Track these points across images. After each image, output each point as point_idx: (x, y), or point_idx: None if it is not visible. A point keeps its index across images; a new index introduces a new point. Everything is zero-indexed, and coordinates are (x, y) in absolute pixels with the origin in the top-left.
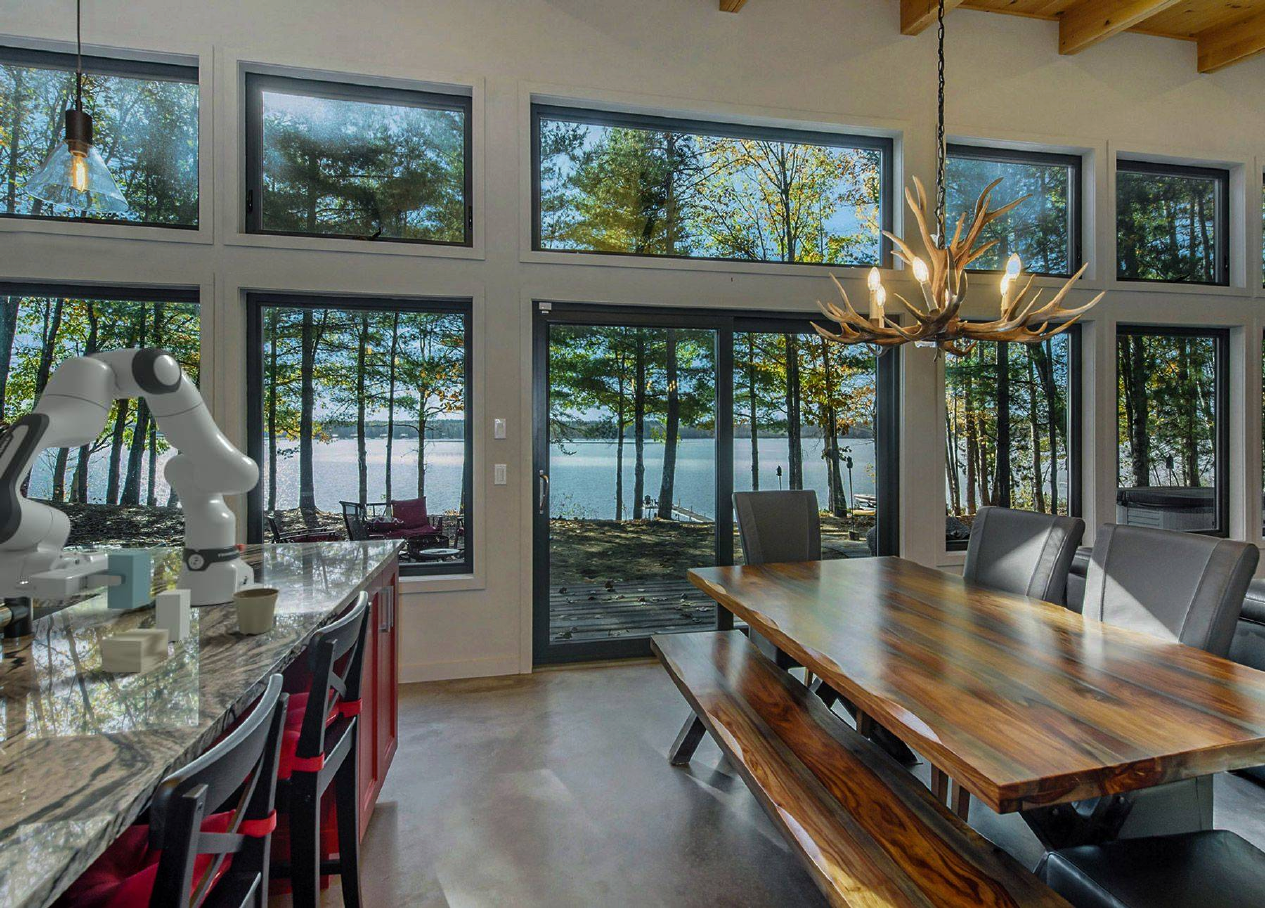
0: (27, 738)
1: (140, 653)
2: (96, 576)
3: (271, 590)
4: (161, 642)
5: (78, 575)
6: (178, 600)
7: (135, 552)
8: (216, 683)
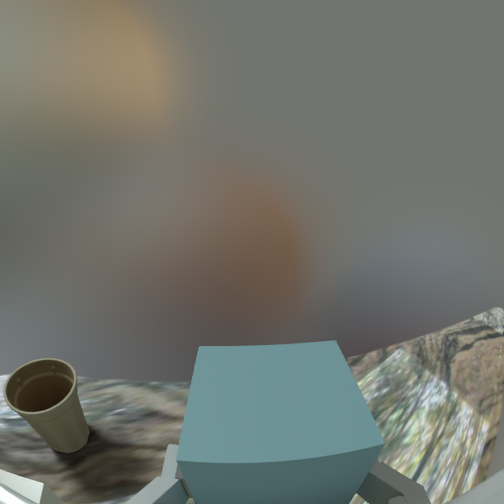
0: (489, 423)
1: None
2: (417, 483)
3: (20, 372)
4: None
5: (485, 481)
6: (52, 495)
7: (256, 377)
8: None
